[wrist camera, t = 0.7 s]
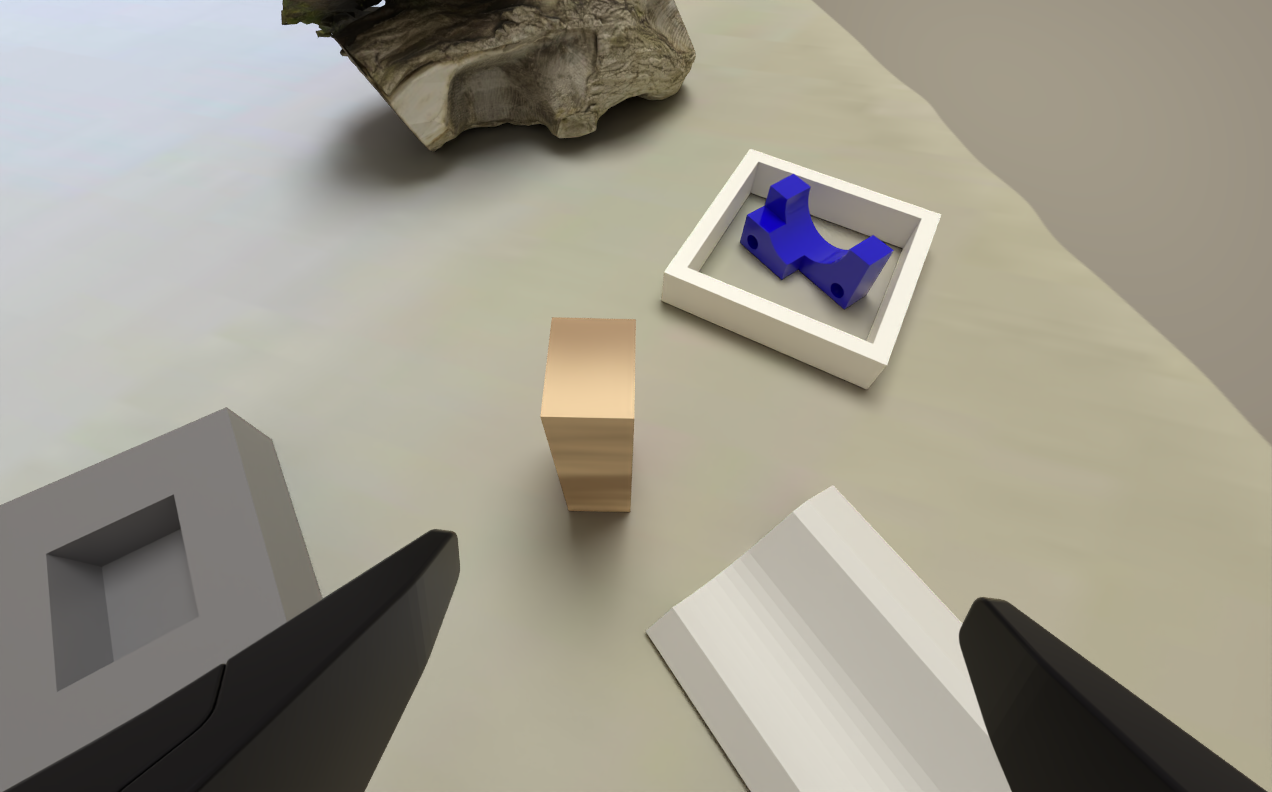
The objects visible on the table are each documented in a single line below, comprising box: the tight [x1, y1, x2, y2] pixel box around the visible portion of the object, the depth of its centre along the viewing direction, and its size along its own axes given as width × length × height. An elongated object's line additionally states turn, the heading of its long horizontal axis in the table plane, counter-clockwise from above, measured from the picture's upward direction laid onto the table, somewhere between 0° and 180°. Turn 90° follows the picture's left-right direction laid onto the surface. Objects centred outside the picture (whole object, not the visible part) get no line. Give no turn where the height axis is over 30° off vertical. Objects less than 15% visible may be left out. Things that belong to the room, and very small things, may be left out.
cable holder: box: [740, 174, 894, 309], centre depth 32 cm, size 8×4×4 cm, turn 36°
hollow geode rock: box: [281, 0, 696, 152], centre depth 36 cm, size 28×13×15 cm
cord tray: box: [661, 149, 941, 389], centre depth 32 cm, size 13×13×2 cm
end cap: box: [0, 407, 322, 792], centre depth 21 cm, size 12×10×4 cm
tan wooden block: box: [540, 318, 636, 512], centre depth 22 cm, size 4×3×10 cm
